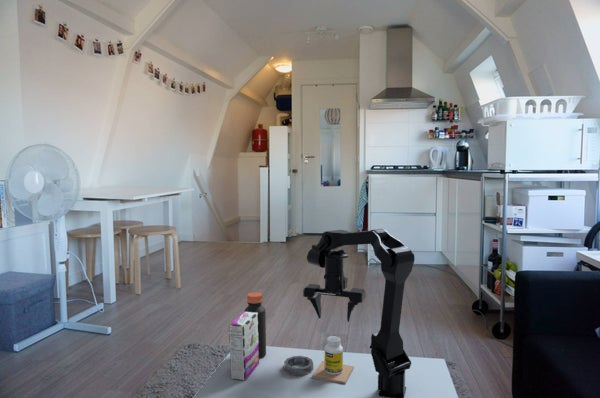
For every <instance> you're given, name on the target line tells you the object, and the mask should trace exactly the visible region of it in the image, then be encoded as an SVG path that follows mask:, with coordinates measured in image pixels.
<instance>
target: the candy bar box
mask: <svg viewBox="0 0 600 398" xmlns="http://www.w3.org/2000/svg"><path fill="white" fill-rule="evenodd" d="M228 335H229V336H228V338H229V339H228V340H229V359H230V360H229V362H230V368H229V369H230V379H231V380H235V381H237V380H238V381H244V382H245V381H247V379H248V378H249V377H250V376H251V374H252V373H253V372H254V371H255V370H256V368H257V367H258V365H259V364H260V359H259V339H258V313H256V312H245V311H243V312H242V313H241V314H239V315H238V316H237V317H236V318H235V319H233V321H231V322H229V324H228Z"/></svg>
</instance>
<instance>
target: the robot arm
mask: <svg viewBox="0 0 600 398" xmlns="http://www.w3.org/2000/svg"><path fill="white" fill-rule="evenodd" d="M356 245H359V246H361V245H371V246H372V249H373V253H374V256H375V257H376V258H377V260H379V262H380V271H381V273H382V275H383V277H384V279H385V282H384V291H383V301H382V310H381V311H382V312H381V317H380V319H381V320H380V328H379V330H378V331H377V332H374V333H372V334H371V336H370V345H369V349H371V350H370V354H371V358H372V361H373V366H374V369H375V372H377V373H378V375H377V390H378V396H379V397H383V398H405V395H406V392H407V386H406V370H409V369H410V368H411V366H412V361H411V359H410V357H409V356H408V355H407V353H406V351H405V349H404V340H403V338H402V336H401V334H400V325H401V316H402V308H403V301H404V300H403V299H404V291H405V283H406V281H407V279H408V278H409V276H410V274H411V273H412V270H413V267H414V263H415V260H416V259H415V254H414V253H413V252H412V249H410V247H408V246H407V245H406V244H405V243H404V242H403V241H402V240H399V239H398V238H396V237H395V236H393V235H392V234H391V233H389V231H387V230H386V229H385V228H377V229H376V228H375V229H371V230H363V231H348V230H344V229H334V230H327V231H324V232H323V233H322V235H321V238H320V240H319V242H318V243H317V244H312V245H311V249H309V251H308V253H307V255H306V261H307V262H308V264H310V265H311V266H314V267H318V268H322V269H324V275H323V279H324V288H321V285H320V284H316V283H309V284H308V285H307V286H305V287H304V288H303V291H302V296H303V297H304V298H307V300H308V301H310V304H311V305H312V306H313V309H314V310H315V312H316V313H315V314H316V315H317V317H318V319H321V318H322V305H321V303H322V302H321V300H322V299H321V298H322V296H331V297H332V296H333V297H341V298H343V297H345V298H348V302H347V311H346V312H347V315H346V321H347V323H349V322H350V320H351V317H352V314H353V312H354V309H355V307H356V306H358V305H359V304H361V303H363V302H364V300H365V299H366V291H365V289H364V288H358V287H357V288H356V287H355V288H354V287H352V288H351V289H350V290H345V289H347V288H348V279H349V278H348V277H346V276H345V272H344V259H347V258H349V255H348V254H347V252H345V251H344V248H348V247H349V246H356ZM383 245H384V246H385V247H387V248H385V247H384V246H383Z"/></svg>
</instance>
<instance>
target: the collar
mask: <svg viewBox="0 0 600 398" xmlns="http://www.w3.org/2000/svg"><path fill="white" fill-rule="evenodd" d="M283 361H284V363H283V365H284V366H283V367H284V372H285V373H286V374H288V375H289V376H295V377H300V376H306V375H308V374H311V373H312V372H313V370H314V362H313V359H312V358H310V357H309V356H304V355H293V356H290V357H288V358H286V359H285V360H283ZM298 364H301V365H304V366H301V367H300V366H299V367H297V366H292V365H298Z"/></svg>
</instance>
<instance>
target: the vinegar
mask: <svg viewBox="0 0 600 398" xmlns="http://www.w3.org/2000/svg"><path fill="white" fill-rule="evenodd" d="M246 301H247V303H246V304H247V306H246V307H245V308H244V312H256V313H258V339H259V360H260V359H263V358H264V357H265V356H266V354H267V329H266V328H267V327H266V319H267V317H266V315H267V314H266V308H265V307H264V306H263V305H262V304H263V294H262V292H256V291H255V292H249V293H247V295H246Z"/></svg>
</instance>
